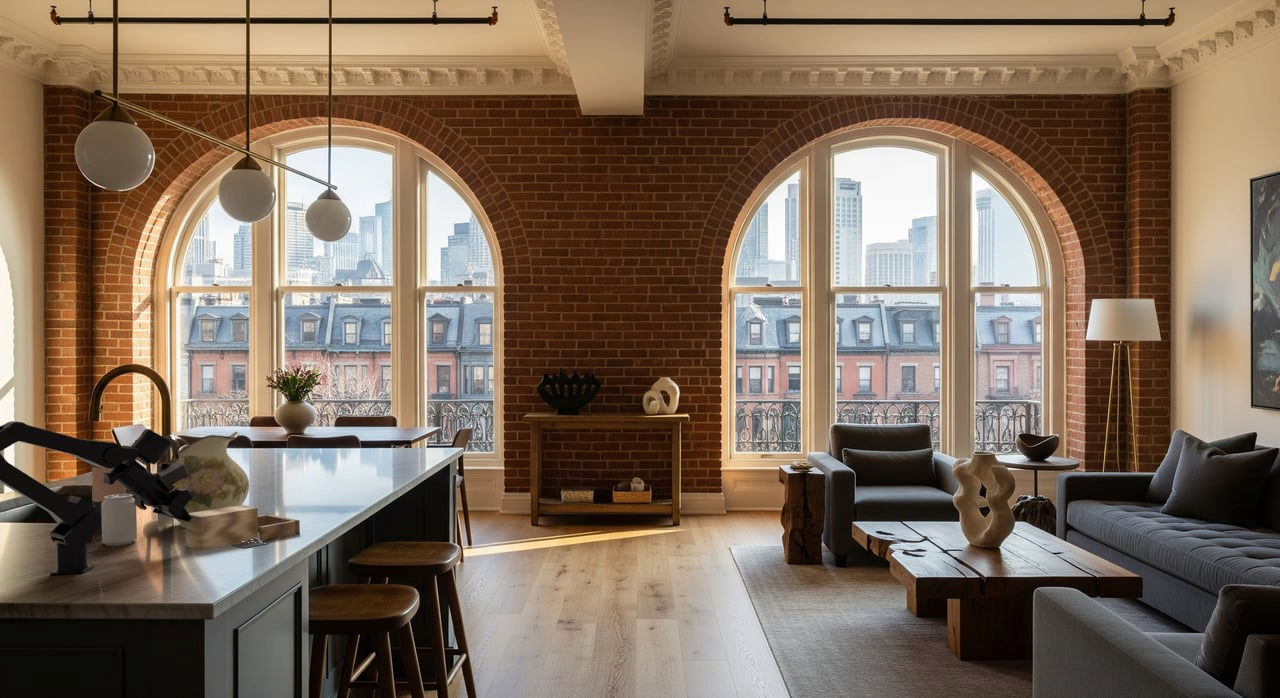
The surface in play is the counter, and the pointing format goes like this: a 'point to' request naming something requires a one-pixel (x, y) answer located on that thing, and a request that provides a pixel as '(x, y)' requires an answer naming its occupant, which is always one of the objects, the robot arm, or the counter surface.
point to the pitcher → (208, 473)
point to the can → (119, 520)
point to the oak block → (221, 527)
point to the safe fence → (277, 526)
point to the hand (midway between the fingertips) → (189, 520)
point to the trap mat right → (248, 544)
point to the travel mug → (103, 489)
